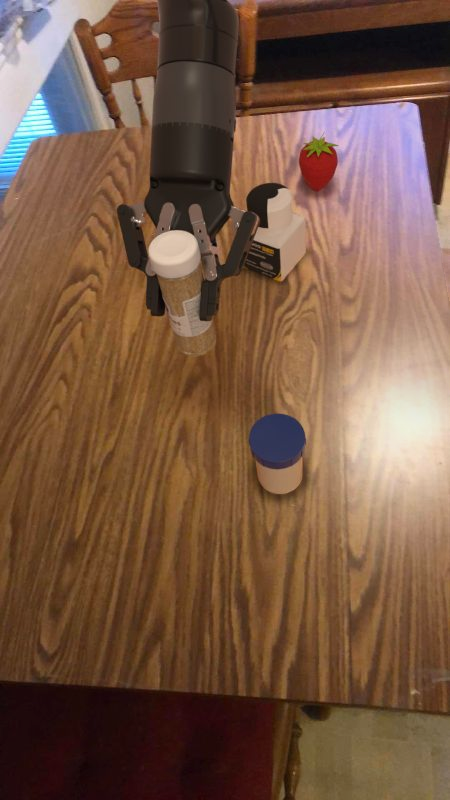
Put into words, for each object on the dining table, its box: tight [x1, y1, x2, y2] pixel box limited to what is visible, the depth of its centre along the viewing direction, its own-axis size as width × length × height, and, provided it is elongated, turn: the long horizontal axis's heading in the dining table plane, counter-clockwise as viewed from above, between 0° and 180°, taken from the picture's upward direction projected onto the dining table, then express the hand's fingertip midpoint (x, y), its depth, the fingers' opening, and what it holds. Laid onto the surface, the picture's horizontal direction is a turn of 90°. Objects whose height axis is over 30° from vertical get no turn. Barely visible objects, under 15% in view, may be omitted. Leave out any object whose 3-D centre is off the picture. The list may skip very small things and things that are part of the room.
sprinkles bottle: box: [147, 230, 217, 357], centre depth 56 cm, size 5×5×13 cm
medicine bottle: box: [243, 182, 307, 282], centre depth 78 cm, size 7×7×12 cm
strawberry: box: [298, 131, 339, 192], centre depth 87 cm, size 6×8×10 cm
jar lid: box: [248, 413, 307, 470], centre depth 57 cm, size 6×6×2 cm
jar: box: [254, 457, 304, 495], centre depth 60 cm, size 5×5×8 cm
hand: (181, 317), depth 55 cm, fingers closed on sprinkles bottle, 4 cm apart
